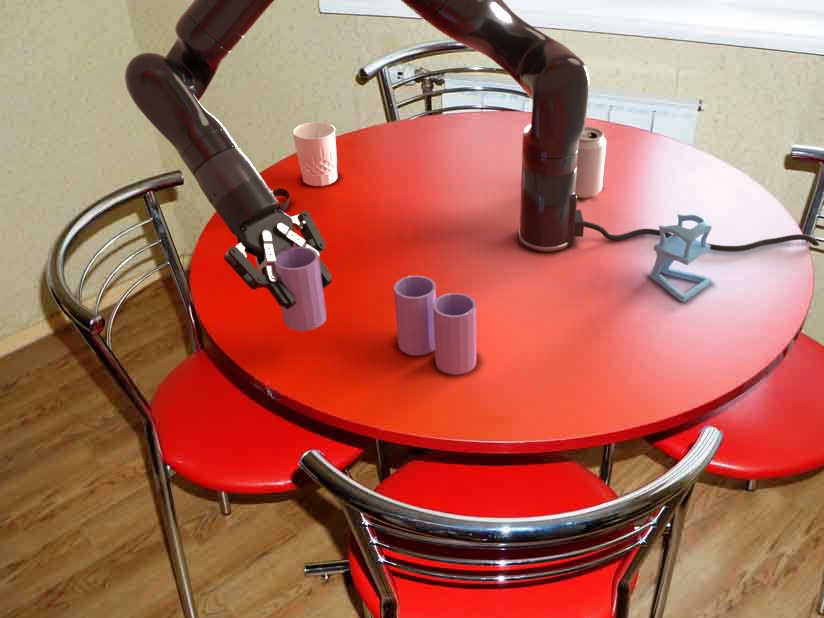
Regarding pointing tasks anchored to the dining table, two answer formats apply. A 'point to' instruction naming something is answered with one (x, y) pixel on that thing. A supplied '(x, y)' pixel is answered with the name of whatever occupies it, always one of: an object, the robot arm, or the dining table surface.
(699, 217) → the chair
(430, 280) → the middle cup
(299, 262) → the end cup
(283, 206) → the watch
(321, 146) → the white cup
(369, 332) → the dining table surface
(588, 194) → the can
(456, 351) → the cup
